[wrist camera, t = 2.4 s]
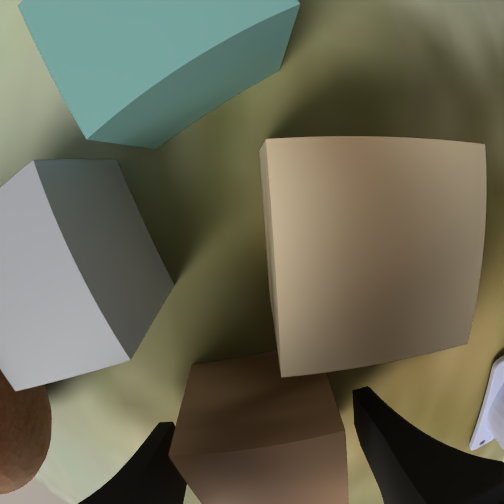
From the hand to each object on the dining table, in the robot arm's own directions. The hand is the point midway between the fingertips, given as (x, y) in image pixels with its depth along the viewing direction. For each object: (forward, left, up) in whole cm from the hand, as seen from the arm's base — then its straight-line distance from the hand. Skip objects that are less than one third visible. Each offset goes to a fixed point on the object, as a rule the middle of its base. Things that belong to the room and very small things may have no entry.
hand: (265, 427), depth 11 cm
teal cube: (0, -14, -2) cm, 14 cm away
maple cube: (-4, -7, -2) cm, 8 cm away
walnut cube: (0, 0, -2) cm, 2 cm away
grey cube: (+5, -8, -2) cm, 10 cm away
